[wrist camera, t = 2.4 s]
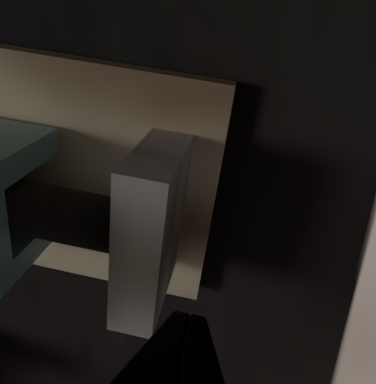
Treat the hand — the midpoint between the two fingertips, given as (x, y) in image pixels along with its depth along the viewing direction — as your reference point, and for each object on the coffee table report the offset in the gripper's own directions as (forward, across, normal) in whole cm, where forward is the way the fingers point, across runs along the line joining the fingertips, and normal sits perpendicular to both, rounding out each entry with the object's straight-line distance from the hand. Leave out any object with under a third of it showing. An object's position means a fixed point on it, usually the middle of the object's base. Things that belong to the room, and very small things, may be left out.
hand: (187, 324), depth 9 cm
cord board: (+7, +13, 0) cm, 15 cm away
